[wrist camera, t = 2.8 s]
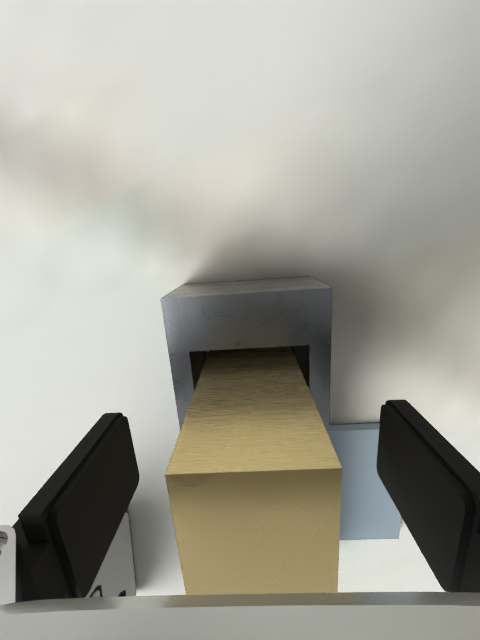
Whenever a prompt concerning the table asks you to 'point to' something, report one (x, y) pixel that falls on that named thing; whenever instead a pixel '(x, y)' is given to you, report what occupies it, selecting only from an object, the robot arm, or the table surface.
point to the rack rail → (250, 329)
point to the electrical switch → (116, 567)
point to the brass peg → (255, 480)
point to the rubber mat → (363, 485)
